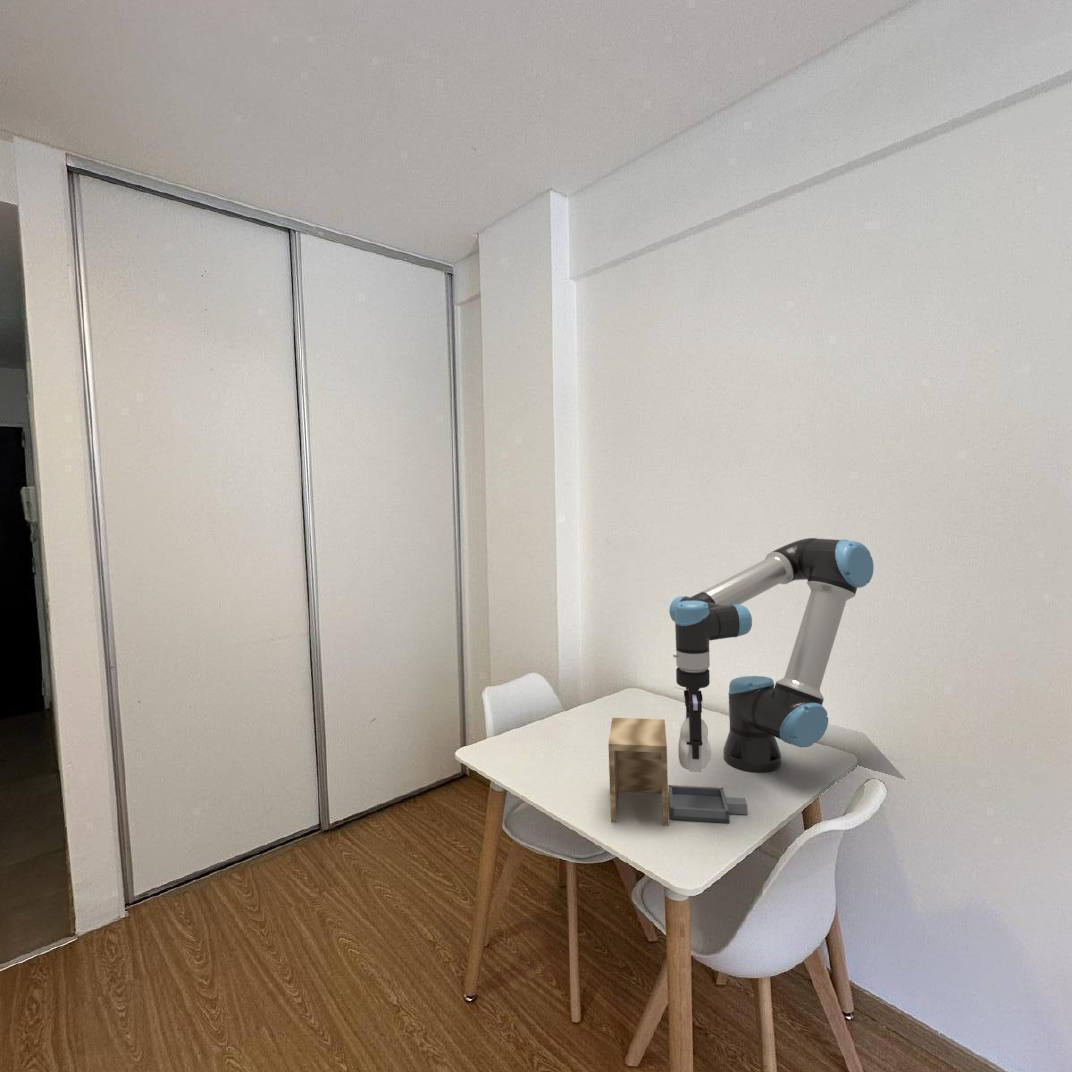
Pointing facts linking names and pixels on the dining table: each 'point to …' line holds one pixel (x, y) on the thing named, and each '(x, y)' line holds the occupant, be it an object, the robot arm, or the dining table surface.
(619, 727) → the box
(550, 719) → the dining table surface
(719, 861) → the dining table surface
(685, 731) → the figurine
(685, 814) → the tray
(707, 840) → the dining table surface
